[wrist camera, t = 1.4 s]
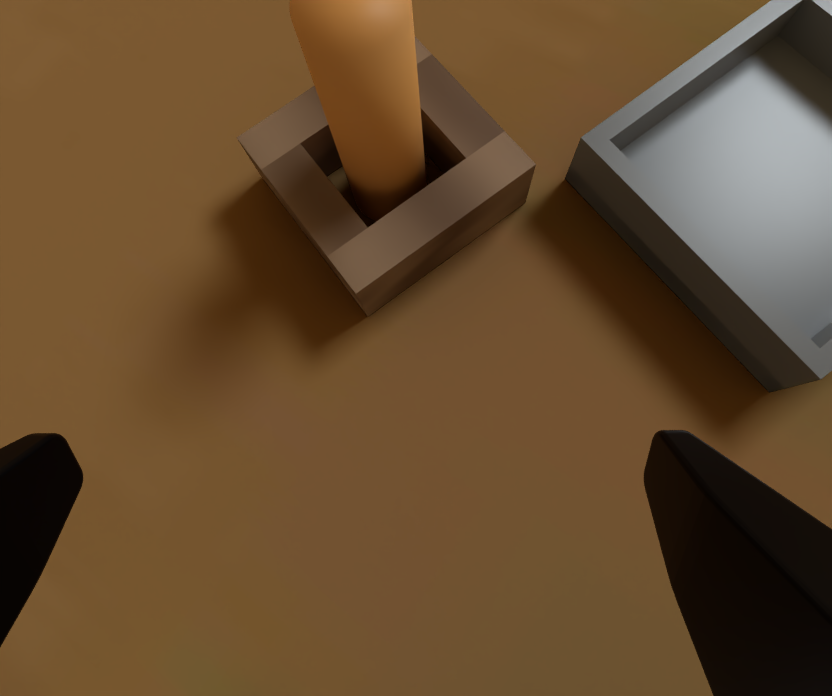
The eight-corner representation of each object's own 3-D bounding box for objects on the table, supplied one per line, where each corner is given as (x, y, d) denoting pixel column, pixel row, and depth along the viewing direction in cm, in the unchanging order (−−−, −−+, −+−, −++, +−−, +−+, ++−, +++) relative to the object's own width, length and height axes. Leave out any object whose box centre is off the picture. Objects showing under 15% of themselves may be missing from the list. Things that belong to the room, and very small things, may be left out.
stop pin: (381, 237, 24) (334, 73, 14) (339, 184, 24) (266, -5, 15) (441, 194, 24) (435, 5, 14) (398, 143, 25) (364, -68, 15)
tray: (769, 392, 21) (820, 379, 18) (565, 178, 24) (581, 137, 21) (984, 216, 22) (1065, 178, 19) (764, 33, 25) (806, -25, 22)
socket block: (368, 316, 23) (355, 293, 20) (261, 177, 25) (236, 137, 22) (525, 202, 24) (535, 164, 21) (409, 76, 26) (404, 25, 23)
